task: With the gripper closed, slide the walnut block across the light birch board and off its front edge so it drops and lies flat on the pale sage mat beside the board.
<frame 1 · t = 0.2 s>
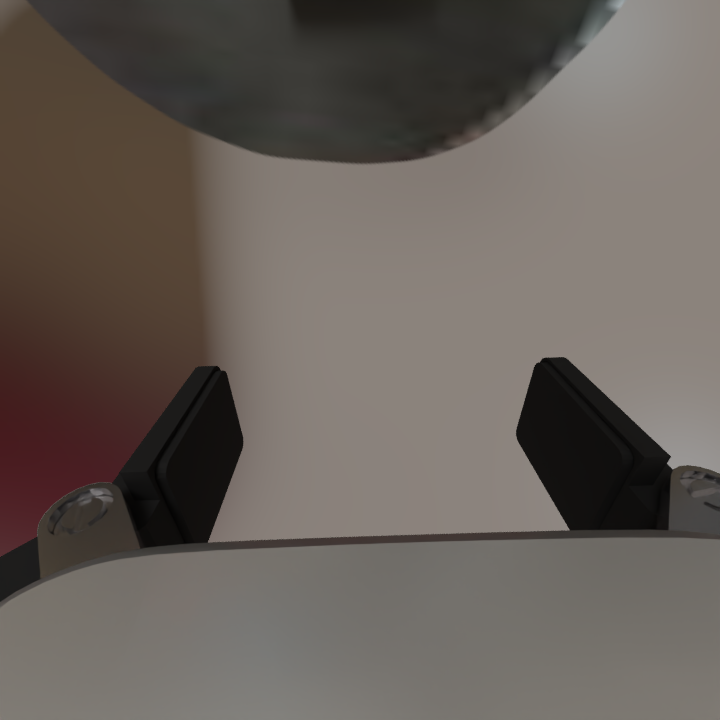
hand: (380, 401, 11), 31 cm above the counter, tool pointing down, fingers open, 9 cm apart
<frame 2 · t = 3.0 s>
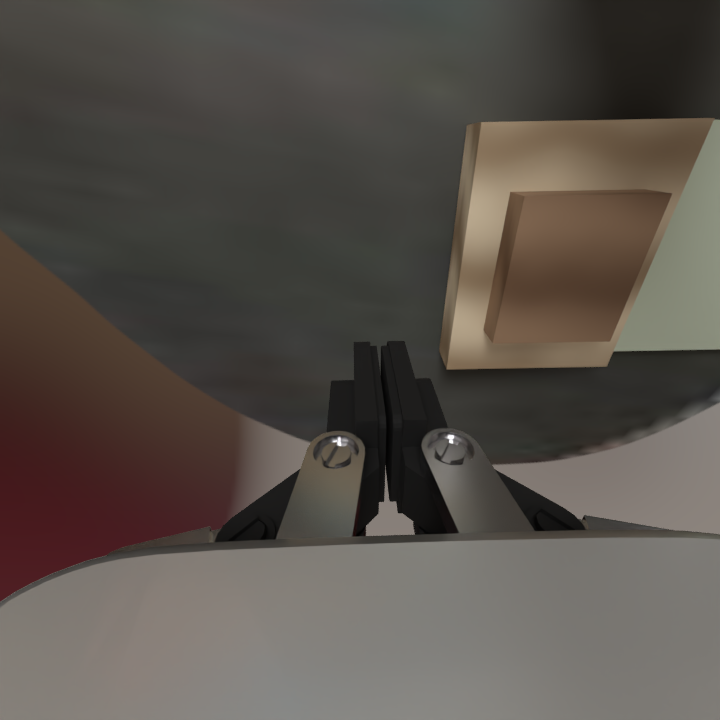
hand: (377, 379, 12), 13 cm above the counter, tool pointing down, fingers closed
sage mat: (719, 251, 22), on the counter
walnut block: (555, 267, 20), point 2 cm above the counter, touching birch board
birch board: (536, 255, 22), on the counter
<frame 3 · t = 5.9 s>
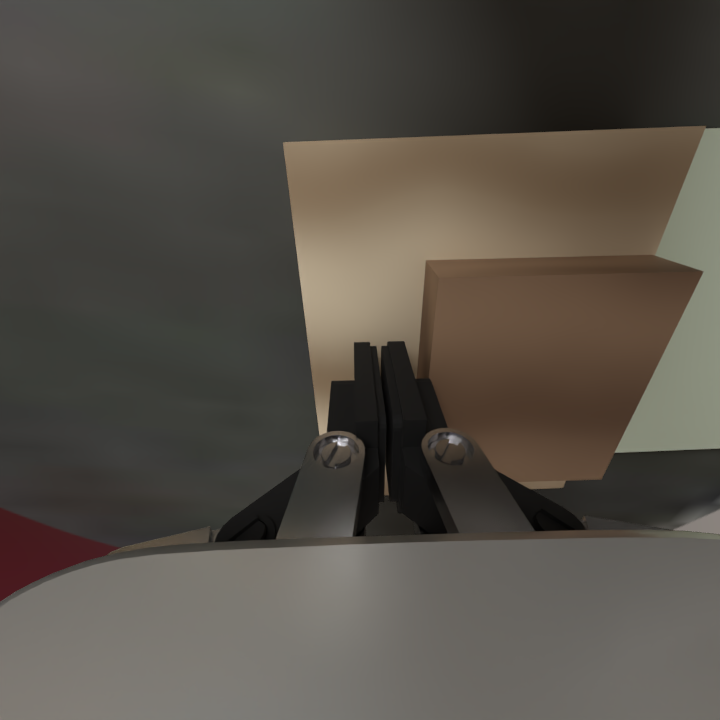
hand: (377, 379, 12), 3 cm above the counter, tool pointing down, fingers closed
walnut block: (512, 368, 13), point 3 cm above the counter, touching gripper
birch board: (446, 333, 15), on the counter
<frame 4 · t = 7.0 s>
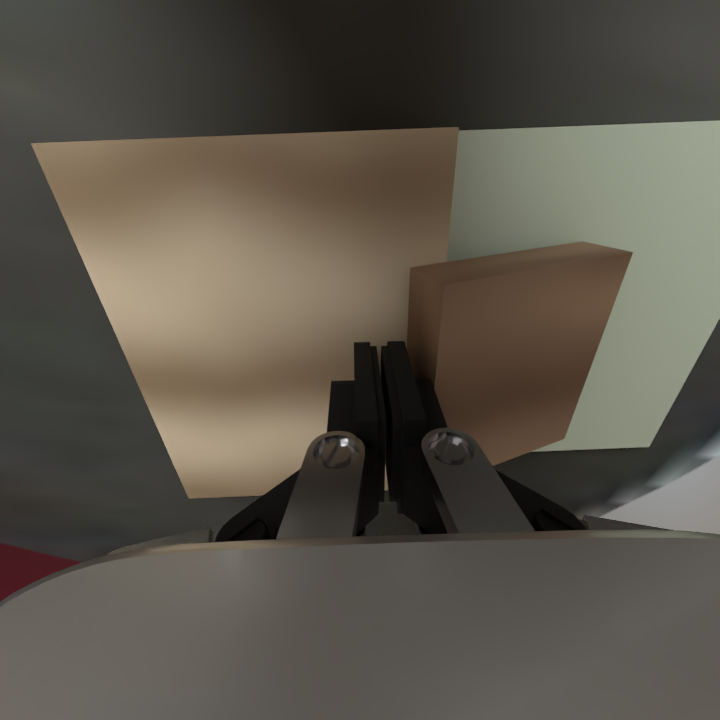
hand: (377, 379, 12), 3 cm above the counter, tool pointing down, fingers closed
sage mat: (571, 323, 15), on the counter
walnut block: (485, 358, 13), point 2 cm above the counter, tilted 20°
birch board: (294, 334, 15), on the counter
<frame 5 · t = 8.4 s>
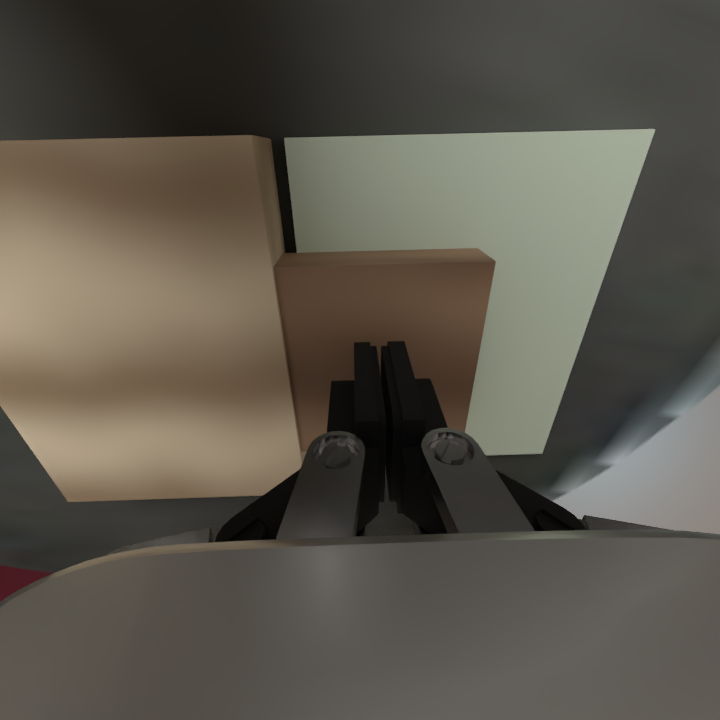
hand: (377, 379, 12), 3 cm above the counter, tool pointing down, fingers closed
sage mat: (443, 330, 15), on the counter
walnut block: (379, 348, 14), resting on sage mat
birch board: (165, 338, 15), on the counter
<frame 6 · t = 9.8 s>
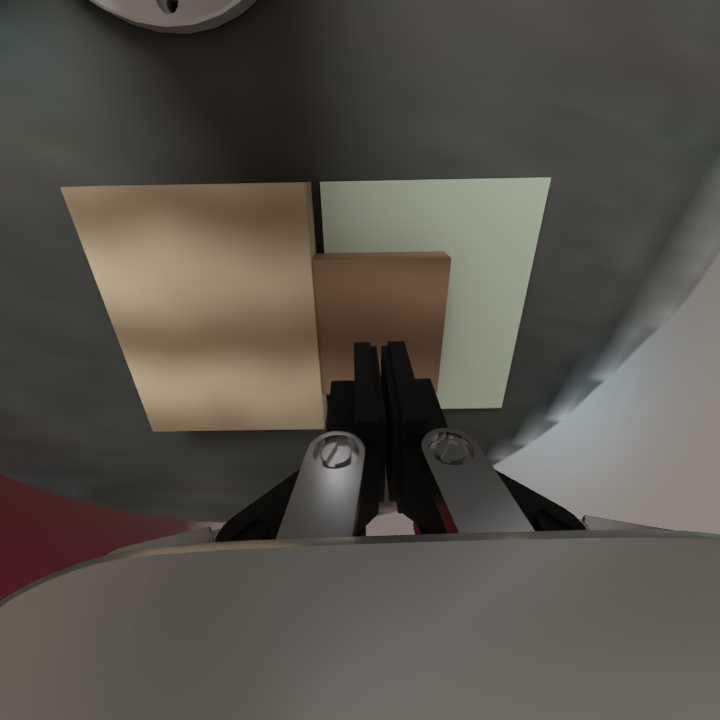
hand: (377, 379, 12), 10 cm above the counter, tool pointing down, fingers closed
sage mat: (423, 309, 21), on the counter
walnut block: (378, 320, 21), resting on sage mat
birch board: (230, 313, 21), on the counter
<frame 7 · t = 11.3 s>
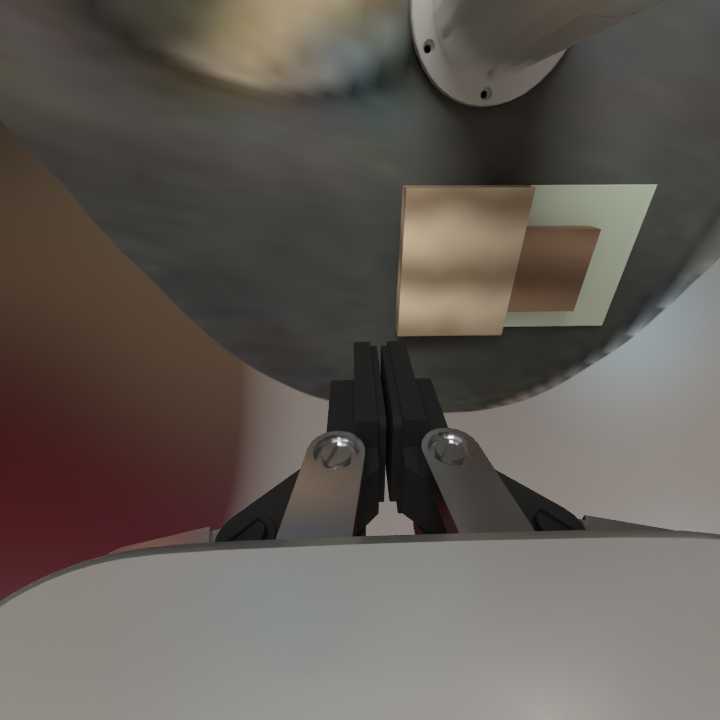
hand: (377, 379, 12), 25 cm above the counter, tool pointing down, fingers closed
sage mat: (567, 261, 35), on the counter
walnut block: (541, 267, 35), resting on sage mat
birch board: (452, 262, 35), on the counter
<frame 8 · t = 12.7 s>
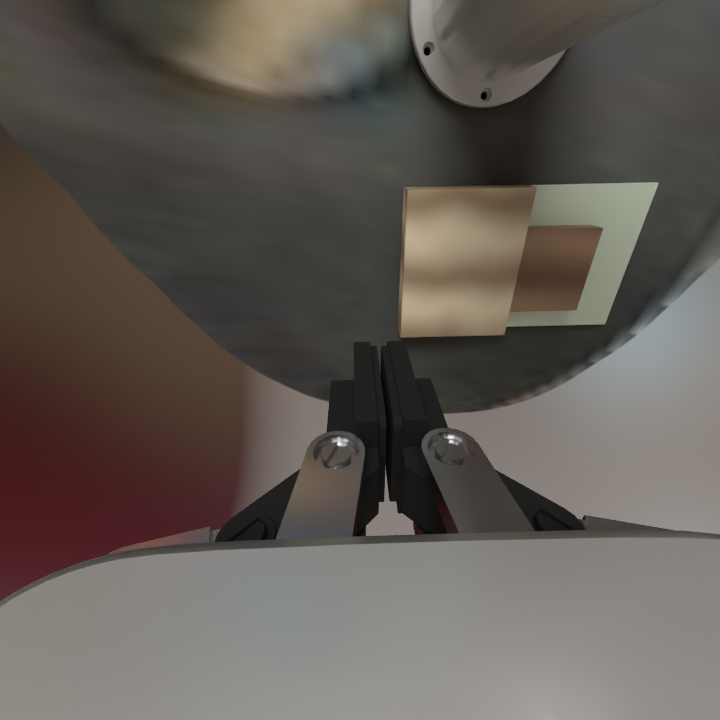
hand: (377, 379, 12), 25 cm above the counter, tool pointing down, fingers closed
sage mat: (569, 260, 35), on the counter
walnut block: (544, 267, 35), resting on sage mat
birch board: (454, 263, 35), on the counter
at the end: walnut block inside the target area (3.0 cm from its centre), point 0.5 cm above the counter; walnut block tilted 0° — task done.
